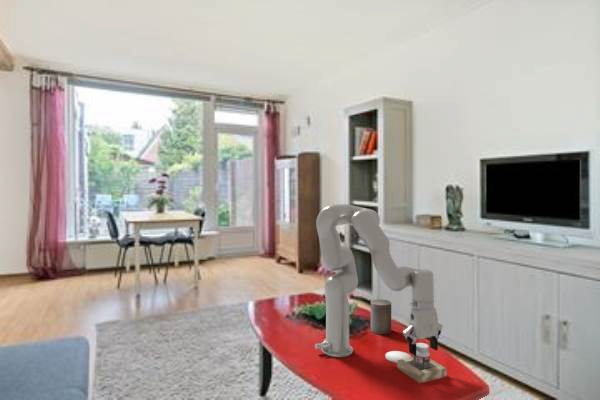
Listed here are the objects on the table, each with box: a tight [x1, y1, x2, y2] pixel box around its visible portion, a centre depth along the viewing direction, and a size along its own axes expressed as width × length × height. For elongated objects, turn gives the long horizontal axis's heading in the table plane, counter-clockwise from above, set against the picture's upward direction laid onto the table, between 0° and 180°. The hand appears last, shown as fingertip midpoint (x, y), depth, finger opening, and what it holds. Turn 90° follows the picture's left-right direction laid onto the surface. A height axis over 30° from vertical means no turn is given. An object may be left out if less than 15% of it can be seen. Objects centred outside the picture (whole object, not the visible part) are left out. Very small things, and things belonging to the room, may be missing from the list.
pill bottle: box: [412, 342, 431, 371], centre depth 138 cm, size 6×6×10 cm
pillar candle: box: [370, 298, 392, 335], centre depth 179 cm, size 10×10×15 cm
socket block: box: [396, 356, 447, 384], centre depth 138 cm, size 12×12×3 cm
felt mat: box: [384, 350, 412, 364], centre depth 150 cm, size 10×10×1 cm
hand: (423, 351), depth 137 cm, fingers open, 9 cm apart
